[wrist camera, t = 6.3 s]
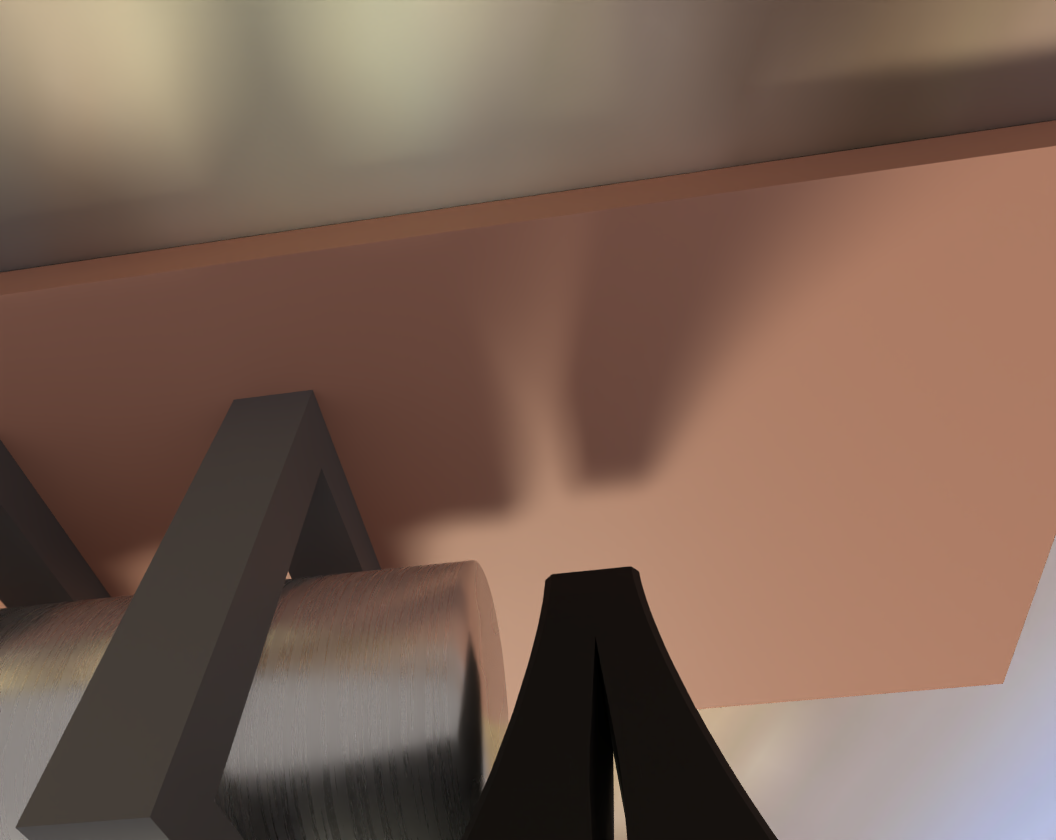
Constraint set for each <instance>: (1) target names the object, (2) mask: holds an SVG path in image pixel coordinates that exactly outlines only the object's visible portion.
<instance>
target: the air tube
mask: <svg viewBox="0 0 1056 840" xmlns="http://www.w3.org/2000/svg"><path fill="white" fill-rule="evenodd" d="M133 596H134V595H128V596H118V597H109V598H99V599H89V600H80V601H70V602H60V603H50V604H41V605H31V606H21V607H12V608H2V609H0V840H28V839H27V838H26V837H25V836H24V835H23V834H22V833H21V832H19V831H18V830H17V829H16V828H15V827H16V825H17V823H18V821H19V819H20V817H21V815H22V813H23V811H24V809H25V807H26V805H27V803H28V801H29V799H30V797H31V796H32V794H33V792H34V790H35V788H36V786H37V784H38V782H39V780H40V778H41V776H42V774H43V772H44V770H45V768H46V766H47V764H48V762H49V760H50V758H51V756H52V754H53V752H54V751H55V749H56V747H57V745H58V743H59V741H60V739H61V737H62V735H63V733H64V731H65V729H66V727H67V725H68V723H69V721H70V719H71V717H72V715H73V713H74V711H75V709H76V707H77V706H78V704H79V702H80V700H81V698H82V696H83V694H84V692H85V690H86V688H87V686H88V684H89V682H90V680H91V678H92V676H93V674H94V672H95V670H96V668H97V666H98V664H99V662H100V661H101V659H102V657H103V655H104V653H105V651H106V649H107V647H108V645H109V643H110V641H111V639H112V637H113V635H114V633H115V631H116V629H117V627H118V625H119V623H120V621H121V619H122V617H123V616H124V614H125V612H126V610H127V608H128V606H129V604H130V602H131V600H132V598H133ZM508 724H509V721H508V705H507V692H506V680H505V671H504V662H503V654H502V646H501V640H500V633H499V627H498V622H497V616H496V611H495V607H494V602H493V598H492V594H491V591H490V587H489V584H488V581H487V578H486V576H485V573H484V571H483V569H482V567H481V566H480V564H479V563H478V562H477V561H475V560H468V561H458V562H449V563H439V564H429V565H420V566H410V567H400V568H390V569H381V570H371V571H361V572H352V573H342V574H332V575H322V576H313V577H303V578H293V579H285V582H284V586H283V589H282V592H281V595H280V598H279V601H278V604H277V607H276V610H275V614H274V617H273V620H272V623H271V626H270V629H269V632H268V635H267V638H266V642H265V645H264V648H263V651H262V654H261V657H260V660H259V663H258V666H257V669H256V673H255V676H254V679H253V682H252V685H251V688H250V691H249V694H248V697H247V701H246V704H245V707H244V710H243V713H242V716H241V719H240V722H239V725H238V729H237V732H236V735H235V738H234V741H233V744H232V747H231V750H230V753H229V756H228V760H227V763H226V766H225V769H224V772H223V775H222V778H221V781H220V784H219V788H218V791H217V794H216V797H215V800H214V801H215V802H216V804H217V805H218V806H219V808H220V809H221V810H222V811H223V813H224V814H225V815H226V817H227V818H228V819H229V821H230V822H231V823H232V825H233V826H234V827H235V828H236V830H237V831H238V832H239V834H240V835H241V836H242V838H243V839H244V840H461V838H462V836H463V834H464V831H465V829H466V827H467V825H468V823H469V821H470V818H471V816H472V814H473V812H474V809H475V807H476V805H477V803H478V800H479V798H480V796H481V793H482V791H483V789H484V786H485V784H486V781H487V779H488V777H489V774H490V772H491V769H492V767H493V764H494V761H495V759H496V756H497V753H498V751H499V748H500V745H501V743H502V740H503V737H504V735H505V732H506V729H507V727H508Z"/></svg>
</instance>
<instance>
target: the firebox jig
mask: <svg viewBox="0 0 1056 840" xmlns="http://www.w3.org/2000/svg"><path fill="white" fill-rule="evenodd" d="M1055 535H1056V120H1055V121H1048V122H1041V123H1034V124H1027V125H1020V126H1013V127H1006V128H1000V129H993V130H986V131H979V132H972V133H965V134H958V135H951V136H944V137H937V138H930V139H923V140H916V141H909V142H902V143H896V144H889V145H882V146H875V147H868V148H861V149H854V150H847V151H840V152H833V153H826V154H819V155H812V156H805V157H798V158H792V159H785V160H778V161H771V162H764V163H757V164H750V165H743V166H736V167H729V168H722V169H715V170H708V171H701V172H694V173H688V174H681V175H674V176H667V177H660V178H653V179H646V180H639V181H632V182H625V183H618V184H611V185H604V186H597V187H590V188H584V189H577V190H570V191H563V192H556V193H549V194H542V195H535V196H528V197H521V198H514V199H507V200H500V201H493V202H486V203H480V204H473V205H466V206H459V207H452V208H445V209H438V210H431V211H424V212H417V213H410V214H403V215H396V216H389V217H382V218H376V219H369V220H362V221H355V222H348V223H341V224H334V225H327V226H320V227H313V228H306V229H299V230H292V231H285V232H278V233H272V234H265V235H258V236H251V237H244V238H237V239H230V240H223V241H216V242H209V243H202V244H195V245H188V246H181V247H174V248H168V249H161V250H154V251H147V252H140V253H133V254H126V255H119V256H112V257H105V258H98V259H91V260H84V261H77V262H70V263H64V264H57V265H50V266H43V267H36V268H29V269H22V270H15V271H8V272H1V273H0V609H2V608H12V607H21V606H31V605H41V604H50V603H60V602H70V601H80V600H89V599H99V598H109V597H118V596H128V595H134V596H133V598H132V600H131V602H130V604H129V606H128V608H127V610H126V612H125V614H124V616H123V617H122V619H121V621H120V623H119V625H118V627H117V629H116V631H115V633H114V635H113V637H112V639H111V641H110V643H109V645H108V647H107V649H106V651H105V653H104V655H103V657H102V659H101V661H100V662H99V664H98V666H97V668H96V670H95V672H94V674H93V676H92V678H91V680H90V682H89V684H88V686H87V688H86V690H85V692H84V694H83V696H82V698H81V700H80V702H79V704H78V706H77V707H76V709H75V711H74V713H73V715H72V717H71V719H70V721H69V723H68V725H67V727H66V729H65V731H64V733H63V735H62V737H61V739H60V741H59V743H58V745H57V747H56V749H55V751H54V752H53V754H52V756H51V758H50V760H49V762H48V764H47V766H46V768H45V770H44V772H43V774H42V776H41V778H40V780H39V782H38V784H37V786H36V788H35V790H34V792H33V794H32V796H31V797H30V799H29V801H28V803H27V805H26V807H25V809H24V811H23V813H22V815H21V817H20V819H19V821H18V823H17V825H16V827H15V828H16V829H17V830H18V831H19V832H21V833H22V834H23V835H24V836H25V837H26V838H27V839H28V840H244V839H243V838H242V836H241V835H240V834H239V832H238V831H237V830H236V828H235V827H234V826H233V825H232V823H231V822H230V821H229V819H228V818H227V817H226V815H225V814H224V813H223V811H222V810H221V809H220V808H219V806H218V805H217V804H216V802H215V801H214V800H215V797H216V794H217V791H218V788H219V784H220V781H221V778H222V775H223V772H224V769H225V766H226V763H227V760H228V756H229V753H230V750H231V747H232V744H233V741H234V738H235V735H236V732H237V729H238V725H239V722H240V719H241V716H242V713H243V710H244V707H245V704H246V701H247V697H248V694H249V691H250V688H251V685H252V682H253V679H254V676H255V673H256V669H257V666H258V663H259V660H260V657H261V654H262V651H263V648H264V645H265V642H266V638H267V635H268V632H269V629H270V626H271V623H272V620H273V617H274V614H275V610H276V607H277V604H278V601H279V598H280V595H281V592H282V589H283V586H284V582H285V579H293V578H303V577H313V576H322V575H332V574H342V573H352V572H361V571H371V570H381V569H390V568H400V567H410V566H420V565H429V564H439V563H449V562H458V561H468V560H475V561H477V562H478V563H479V564H480V566H481V567H482V569H483V571H484V573H485V576H486V578H487V581H488V584H489V587H490V591H491V594H492V598H493V602H494V607H495V611H496V616H497V622H498V627H499V633H500V640H501V646H502V654H503V662H504V671H505V680H506V692H507V705H508V721H509V722H510V719H511V716H512V713H513V710H514V707H515V704H516V701H517V698H518V694H519V691H520V688H521V685H522V681H523V678H524V675H525V672H526V669H527V665H528V662H529V658H530V655H531V651H532V647H533V643H534V639H535V635H536V631H537V627H538V622H539V618H540V613H541V607H542V602H543V595H544V586H545V580H546V579H547V578H548V577H549V576H550V575H552V574H558V573H568V572H578V571H588V570H598V569H608V568H618V567H628V566H631V567H633V568H635V569H636V570H638V571H639V573H640V578H641V582H642V586H643V589H644V593H645V596H646V599H647V602H648V605H649V608H650V611H651V613H652V616H653V618H654V621H655V624H656V626H657V628H658V631H659V633H660V635H661V638H662V640H663V642H664V645H665V647H666V649H667V651H668V653H669V656H670V658H671V660H672V662H673V664H674V666H675V668H676V670H677V672H678V674H679V676H680V678H681V680H682V682H683V684H684V686H685V688H686V690H687V692H688V694H689V695H690V697H691V699H692V701H693V703H694V705H695V707H696V709H704V708H716V707H728V706H740V705H752V704H764V703H776V702H788V701H800V700H812V699H824V698H836V697H848V696H860V695H871V694H883V693H895V692H907V691H919V690H931V689H943V688H955V687H967V686H979V685H991V684H1003V682H1004V679H1005V676H1006V674H1007V671H1008V668H1009V665H1010V662H1011V659H1012V657H1013V654H1014V651H1015V648H1016V645H1017V643H1018V640H1019V637H1020V634H1021V631H1022V628H1023V626H1024V623H1025V620H1026V617H1027V614H1028V611H1029V609H1030V606H1031V603H1032V600H1033V597H1034V594H1035V592H1036V589H1037V586H1038V583H1039V580H1040V577H1041V575H1042V572H1043V569H1044V566H1045V563H1046V560H1047V558H1048V555H1049V552H1050V549H1051V546H1052V543H1053V541H1054V538H1055Z"/></svg>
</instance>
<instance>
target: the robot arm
mask: <svg viewBox="0 0 1056 840" xmlns="http://www.w3.org/2000/svg"><path fill="white" fill-rule="evenodd" d="M613 753H614V758H615V764H616V769H617V775H618V780H619V785H620V791H621V796H622V802H623V807H624V813H625V818H626V829H627V840H778V839H777V838H776V836H775V835H774V833H773V832H772V830H771V829H770V828H769V826H768V825H767V823H766V822H765V820H764V819H763V817H762V816H761V814H760V813H759V811H758V810H757V808H756V807H755V805H754V804H753V802H752V801H751V799H750V798H749V796H748V795H747V793H746V791H745V790H744V788H743V787H742V785H741V784H740V782H739V780H738V779H737V777H736V776H735V774H734V772H733V771H732V769H731V767H730V766H729V764H728V763H727V761H726V759H725V758H724V756H723V754H722V753H721V751H720V749H719V747H718V746H717V744H716V742H715V741H714V739H713V737H712V736H711V734H710V732H709V730H708V729H707V727H706V725H705V723H704V722H703V720H702V718H701V716H700V714H699V712H698V711H697V709H696V707H695V705H694V703H693V701H692V699H691V697H690V695H689V694H688V692H687V690H686V688H685V686H684V684H683V682H682V680H681V678H680V676H679V674H678V672H677V670H676V668H675V666H674V664H673V662H672V660H671V658H670V656H669V653H668V651H667V649H666V647H665V645H664V642H663V640H662V638H661V635H660V633H659V631H658V628H657V626H656V624H655V621H654V618H653V616H652V613H651V611H650V608H649V605H648V602H647V599H646V596H645V593H644V589H643V586H642V582H641V578H640V573H639V571H638V570H636V569H635V568H633V567H631V566H628V567H618V568H608V569H598V570H588V571H578V572H568V573H558V574H552V575H550V576H549V577H548V578H547V579H546V580H545V586H544V595H543V602H542V607H541V613H540V618H539V622H538V627H537V631H536V635H535V639H534V643H533V647H532V651H531V655H530V658H529V662H528V665H527V669H526V672H525V675H524V678H523V681H522V685H521V688H520V691H519V694H518V698H517V701H516V704H515V707H514V710H513V713H512V716H511V719H510V722H509V724H508V727H507V729H506V732H505V735H504V737H503V740H502V743H501V745H500V748H499V751H498V753H497V756H496V759H495V761H494V764H493V767H492V769H491V772H490V774H489V777H488V779H487V781H486V784H485V786H484V789H483V791H482V793H481V796H480V798H479V800H478V803H477V805H476V807H475V809H474V812H473V814H472V816H471V818H470V821H469V823H468V825H467V827H466V829H465V831H464V834H463V836H462V838H461V840H614V783H613Z"/></svg>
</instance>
